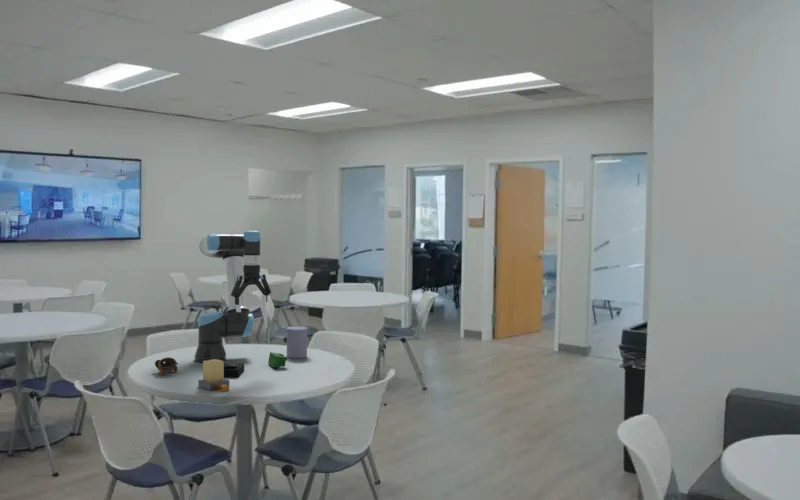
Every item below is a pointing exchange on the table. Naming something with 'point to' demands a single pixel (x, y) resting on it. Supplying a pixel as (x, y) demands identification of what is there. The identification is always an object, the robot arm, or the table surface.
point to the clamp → (277, 360)
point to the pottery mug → (166, 365)
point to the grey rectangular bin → (214, 385)
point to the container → (296, 342)
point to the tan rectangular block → (213, 370)
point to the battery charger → (233, 370)
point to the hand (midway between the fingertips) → (251, 310)
